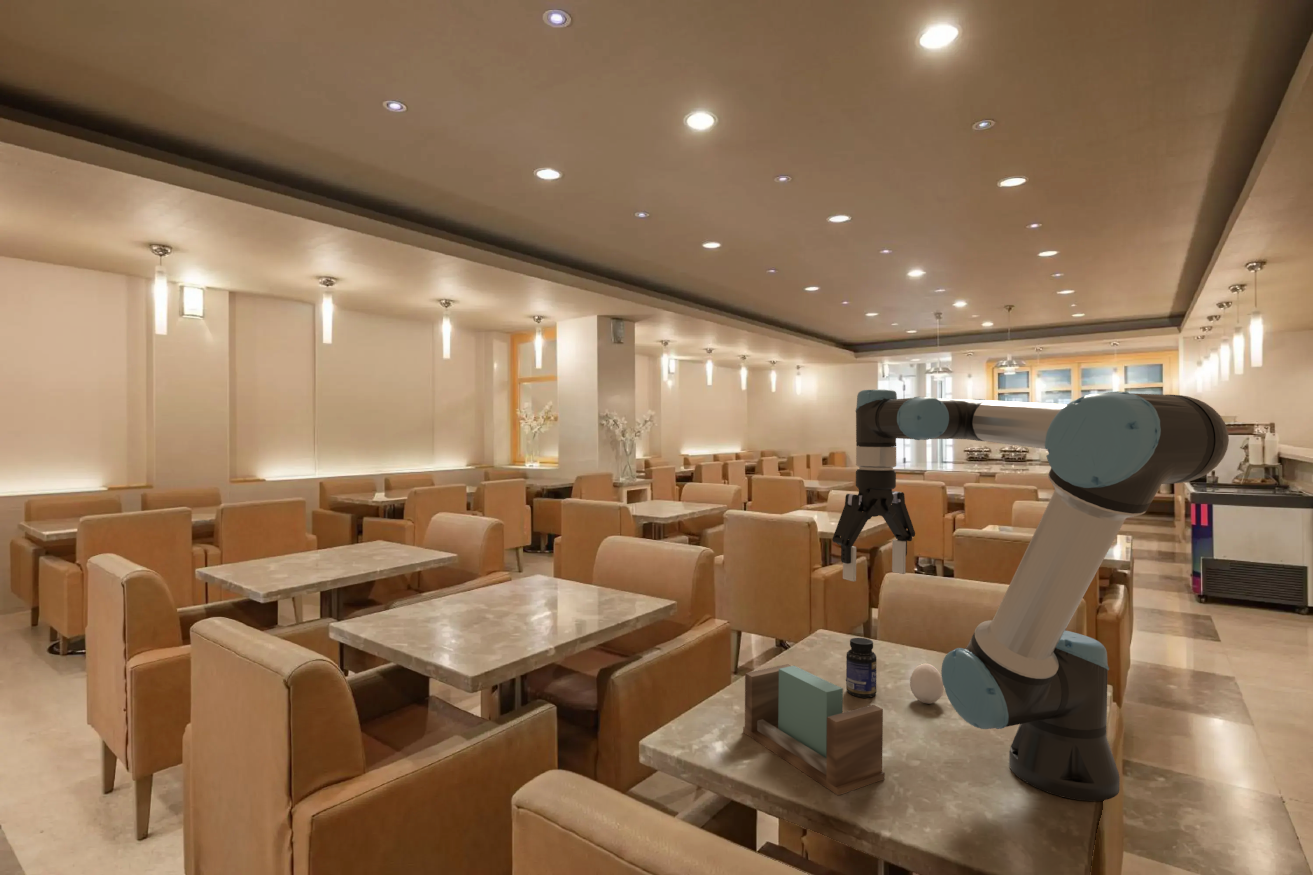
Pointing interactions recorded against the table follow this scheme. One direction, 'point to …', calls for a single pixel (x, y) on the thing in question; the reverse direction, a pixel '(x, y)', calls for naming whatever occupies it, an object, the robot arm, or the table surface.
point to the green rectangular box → (807, 707)
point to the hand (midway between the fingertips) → (874, 576)
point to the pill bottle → (861, 668)
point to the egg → (926, 683)
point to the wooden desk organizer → (847, 737)
